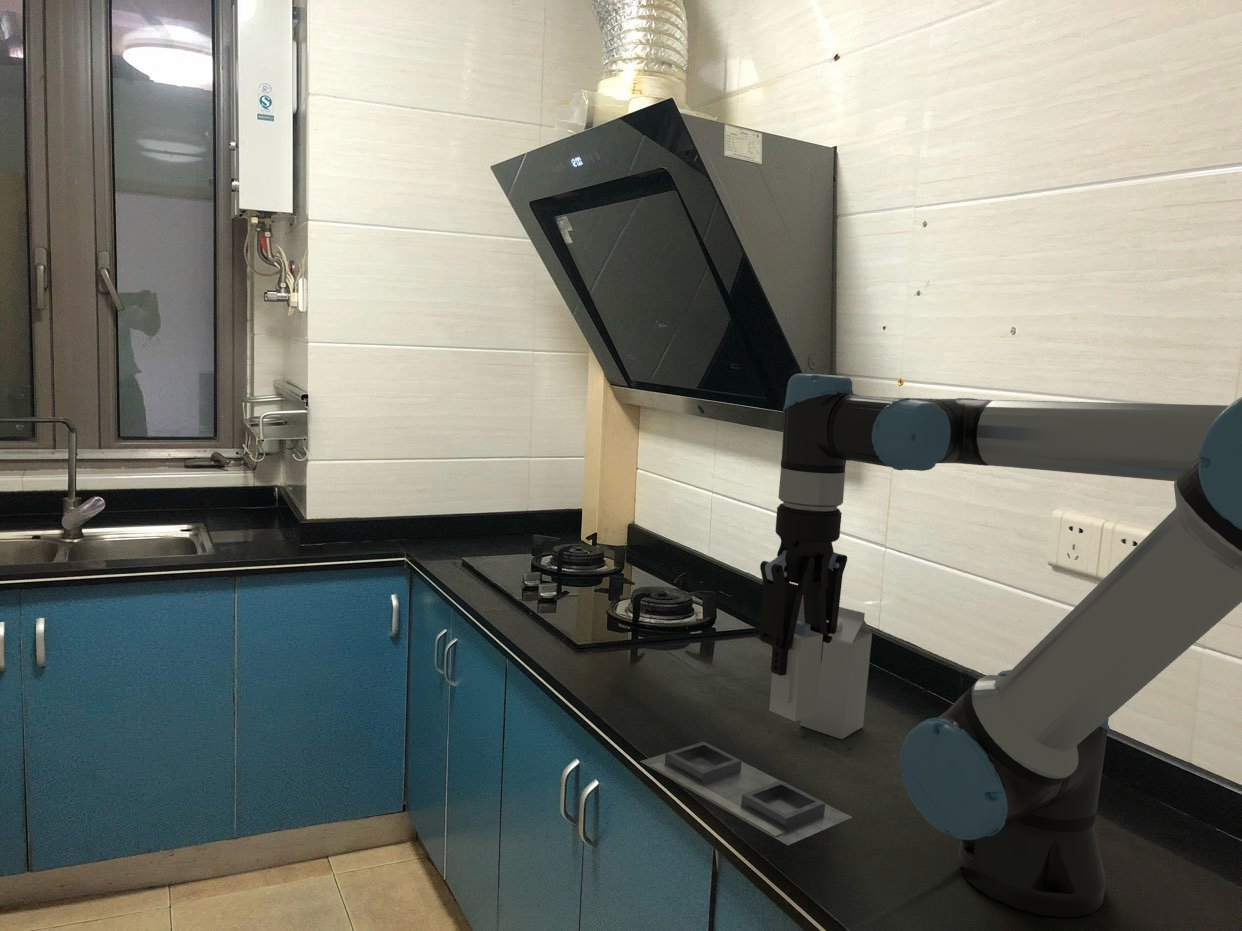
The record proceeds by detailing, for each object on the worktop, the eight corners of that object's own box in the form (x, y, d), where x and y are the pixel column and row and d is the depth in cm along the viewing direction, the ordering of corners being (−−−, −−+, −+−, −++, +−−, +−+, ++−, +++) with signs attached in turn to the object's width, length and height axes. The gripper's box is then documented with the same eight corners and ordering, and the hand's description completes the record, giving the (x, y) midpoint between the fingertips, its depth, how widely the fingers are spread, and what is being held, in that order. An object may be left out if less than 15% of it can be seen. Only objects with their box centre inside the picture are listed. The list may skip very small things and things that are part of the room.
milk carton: (821, 714, 154) (832, 598, 151) (863, 727, 149) (874, 608, 147) (799, 726, 148) (810, 606, 146) (842, 740, 144) (853, 617, 141)
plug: (816, 714, 117) (823, 624, 115) (794, 721, 114) (802, 629, 113) (790, 704, 120) (797, 616, 118) (769, 710, 117) (776, 620, 116)
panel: (851, 824, 118) (853, 805, 118) (787, 853, 110) (789, 832, 110) (702, 748, 138) (703, 731, 138) (639, 768, 130) (640, 750, 130)
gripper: (829, 496, 122) (814, 674, 125) (736, 504, 111) (722, 699, 114) (879, 505, 116) (862, 692, 119) (786, 515, 106) (770, 720, 108)
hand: (794, 695), depth 117 cm, fingers closed on plug, 4 cm apart
